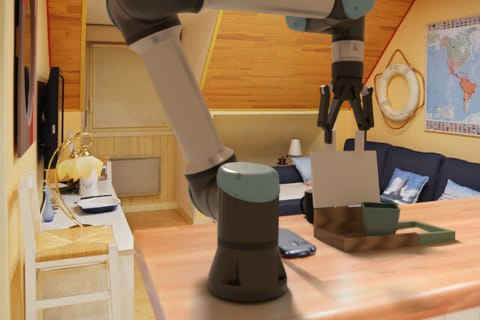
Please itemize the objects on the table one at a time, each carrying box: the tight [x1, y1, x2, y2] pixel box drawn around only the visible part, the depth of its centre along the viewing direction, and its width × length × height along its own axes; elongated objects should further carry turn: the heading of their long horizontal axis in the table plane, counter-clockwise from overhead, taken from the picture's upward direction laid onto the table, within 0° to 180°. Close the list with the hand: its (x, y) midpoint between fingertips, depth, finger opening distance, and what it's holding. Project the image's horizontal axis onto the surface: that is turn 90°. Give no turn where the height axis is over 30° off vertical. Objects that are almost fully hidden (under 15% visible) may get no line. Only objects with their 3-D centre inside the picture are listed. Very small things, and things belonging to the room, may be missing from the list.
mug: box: [299, 188, 336, 224], centre depth 134 cm, size 12×9×10 cm
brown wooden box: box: [313, 205, 419, 254], centre depth 115 cm, size 20×15×8 cm
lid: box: [309, 150, 381, 208], centre depth 122 cm, size 20×14×1 cm
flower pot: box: [360, 202, 401, 237], centre depth 116 cm, size 9×9×9 cm
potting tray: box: [397, 220, 456, 246], centre depth 120 cm, size 12×14×2 cm
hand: (345, 157), depth 111 cm, fingers open, 7 cm apart
